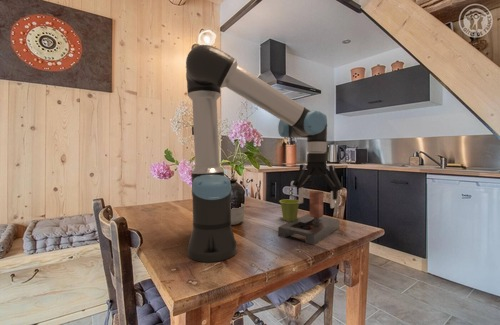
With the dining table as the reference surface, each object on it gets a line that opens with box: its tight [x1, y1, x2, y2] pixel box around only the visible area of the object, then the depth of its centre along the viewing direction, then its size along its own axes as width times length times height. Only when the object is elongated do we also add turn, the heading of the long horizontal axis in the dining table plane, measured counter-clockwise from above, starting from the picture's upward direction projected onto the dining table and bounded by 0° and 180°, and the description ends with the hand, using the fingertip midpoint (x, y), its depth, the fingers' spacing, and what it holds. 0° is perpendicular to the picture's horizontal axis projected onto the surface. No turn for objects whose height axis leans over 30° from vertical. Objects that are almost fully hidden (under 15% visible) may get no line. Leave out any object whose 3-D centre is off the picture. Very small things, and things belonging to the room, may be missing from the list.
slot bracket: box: [277, 213, 340, 246], centre depth 94 cm, size 14×24×3 cm, turn 140°
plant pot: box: [279, 198, 300, 222], centre depth 112 cm, size 9×9×9 cm
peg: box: [308, 190, 324, 230], centre depth 98 cm, size 6×6×15 cm
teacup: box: [231, 203, 245, 226], centre depth 108 cm, size 14×11×8 cm
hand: (316, 205), depth 98 cm, fingers open, 13 cm apart
